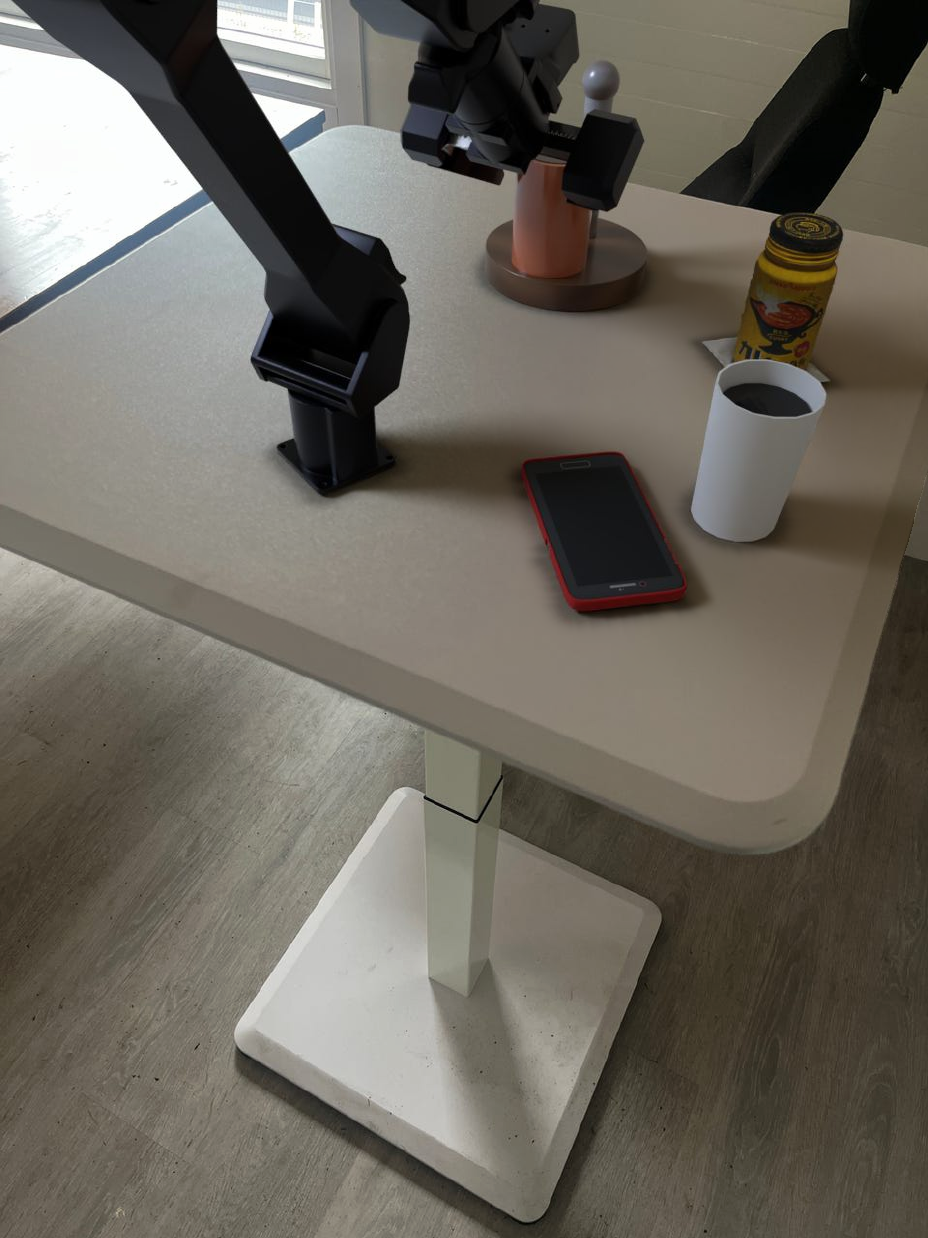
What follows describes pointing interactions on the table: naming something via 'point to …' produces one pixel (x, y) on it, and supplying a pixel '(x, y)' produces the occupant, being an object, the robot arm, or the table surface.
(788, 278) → the condiment
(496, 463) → the table surface
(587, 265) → the towel holder
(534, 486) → the cell phone
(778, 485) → the white coffee cup
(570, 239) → the cup
